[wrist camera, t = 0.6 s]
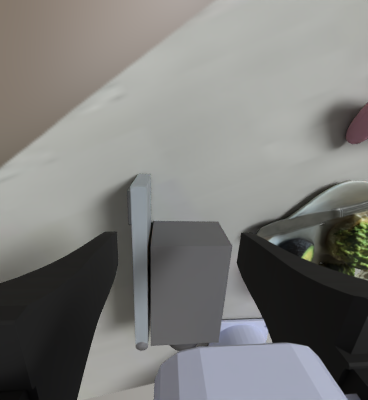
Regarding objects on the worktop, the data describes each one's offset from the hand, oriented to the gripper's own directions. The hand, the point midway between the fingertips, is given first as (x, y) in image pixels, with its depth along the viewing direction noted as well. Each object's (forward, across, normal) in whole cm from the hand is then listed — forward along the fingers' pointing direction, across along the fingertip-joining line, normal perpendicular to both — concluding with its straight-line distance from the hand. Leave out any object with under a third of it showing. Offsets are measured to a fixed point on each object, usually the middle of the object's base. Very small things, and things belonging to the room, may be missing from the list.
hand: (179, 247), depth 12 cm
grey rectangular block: (+10, -2, +9) cm, 13 cm away
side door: (+10, +3, +6) cm, 12 cm away
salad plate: (+10, -18, +7) cm, 22 cm away
